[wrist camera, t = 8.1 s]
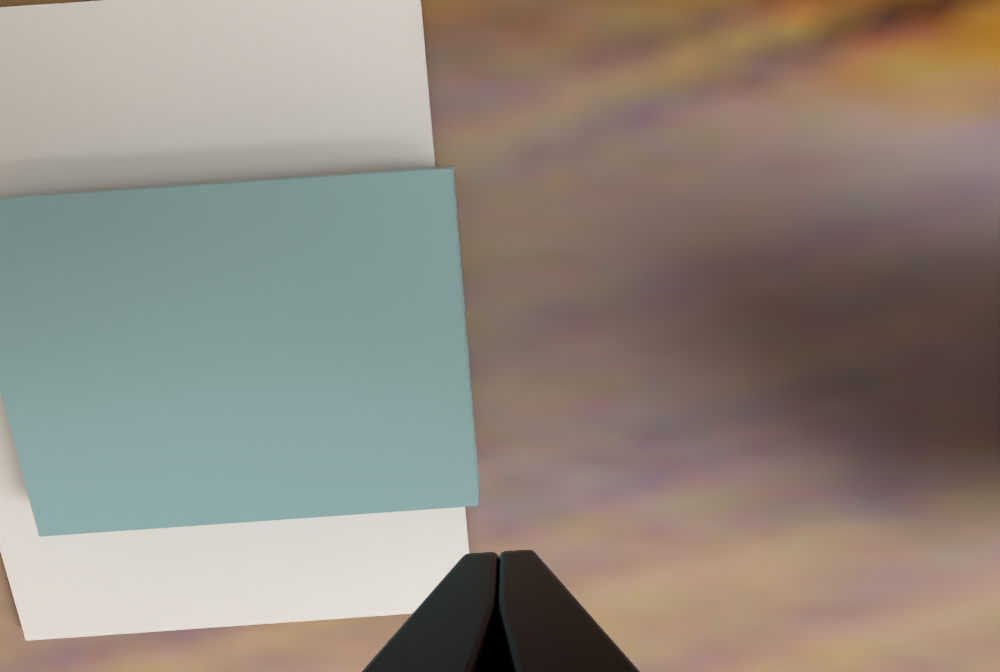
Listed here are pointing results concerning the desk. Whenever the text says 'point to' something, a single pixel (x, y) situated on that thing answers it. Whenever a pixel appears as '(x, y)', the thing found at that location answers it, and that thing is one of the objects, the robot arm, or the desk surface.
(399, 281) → the tile
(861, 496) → the desk surface
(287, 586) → the mat
